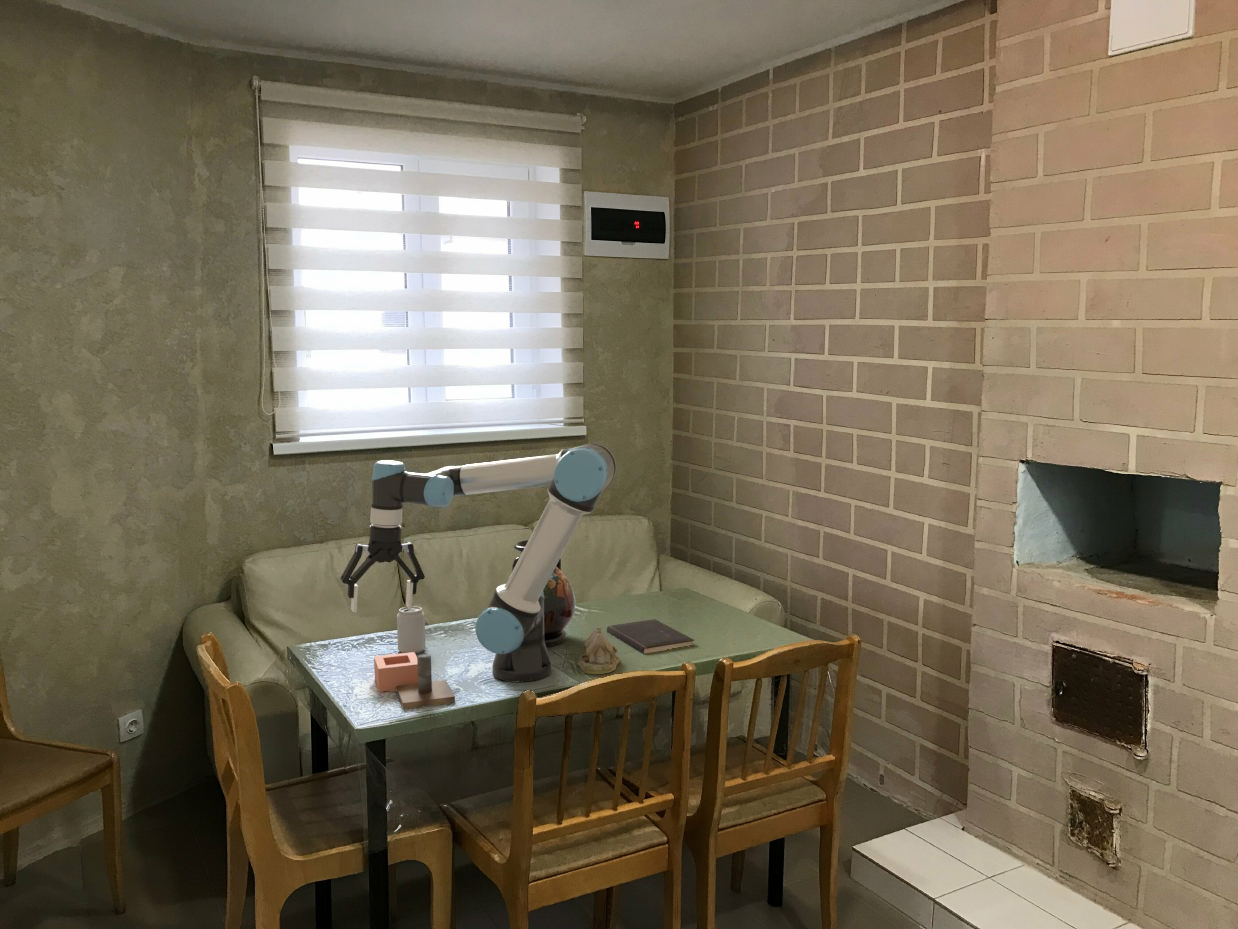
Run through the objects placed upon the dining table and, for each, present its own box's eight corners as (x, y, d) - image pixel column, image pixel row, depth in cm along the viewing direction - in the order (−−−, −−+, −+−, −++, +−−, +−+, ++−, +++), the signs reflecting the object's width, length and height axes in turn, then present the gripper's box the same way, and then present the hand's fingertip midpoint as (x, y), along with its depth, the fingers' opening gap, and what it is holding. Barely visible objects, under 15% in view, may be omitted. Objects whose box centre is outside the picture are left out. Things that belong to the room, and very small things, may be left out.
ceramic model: (576, 658, 260) (576, 621, 259) (618, 656, 261) (618, 620, 260) (579, 675, 246) (578, 637, 245) (623, 674, 247) (623, 636, 246)
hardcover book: (654, 626, 290) (654, 619, 290) (694, 647, 270) (694, 639, 269) (606, 633, 283) (606, 626, 283) (643, 656, 263) (643, 647, 262)
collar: (415, 674, 247) (414, 652, 246) (421, 687, 238) (420, 664, 237) (374, 679, 244) (373, 656, 243) (379, 692, 234) (378, 668, 234)
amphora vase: (541, 657, 260) (539, 554, 257) (484, 642, 273) (481, 545, 270) (591, 637, 277) (590, 541, 274) (535, 625, 290) (533, 533, 287)
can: (411, 645, 272) (409, 603, 270) (431, 649, 268) (430, 607, 266) (392, 652, 265) (390, 609, 264) (412, 657, 261) (411, 613, 260)
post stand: (446, 685, 239) (445, 646, 238) (455, 702, 228) (453, 661, 226) (396, 692, 235) (395, 652, 234) (403, 709, 224) (401, 667, 222)
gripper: (430, 520, 245) (426, 601, 248) (330, 522, 233) (326, 607, 236) (440, 526, 239) (435, 609, 242) (337, 529, 227) (333, 616, 229)
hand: (381, 608), depth 239 cm, fingers open, 13 cm apart
